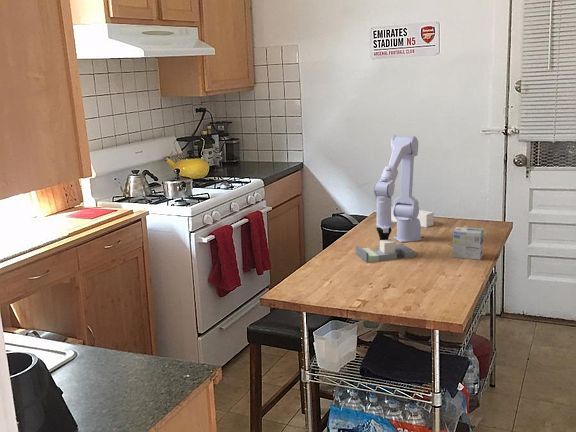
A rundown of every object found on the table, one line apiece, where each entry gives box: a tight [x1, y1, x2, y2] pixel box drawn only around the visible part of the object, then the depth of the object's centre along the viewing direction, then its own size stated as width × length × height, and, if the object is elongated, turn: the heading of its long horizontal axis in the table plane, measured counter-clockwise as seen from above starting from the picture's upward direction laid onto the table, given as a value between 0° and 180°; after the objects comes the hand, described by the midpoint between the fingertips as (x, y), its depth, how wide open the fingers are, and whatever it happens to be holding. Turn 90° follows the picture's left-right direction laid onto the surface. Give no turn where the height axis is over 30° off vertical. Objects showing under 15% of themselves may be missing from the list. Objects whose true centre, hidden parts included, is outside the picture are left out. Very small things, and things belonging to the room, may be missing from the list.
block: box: [379, 238, 396, 253], centre depth 257 cm, size 4×4×4 cm
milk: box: [391, 206, 435, 228], centre depth 306 cm, size 6×6×22 cm
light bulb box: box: [451, 226, 484, 261], centre depth 254 cm, size 11×7×11 cm, turn 65°
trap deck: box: [355, 243, 416, 263], centre depth 259 cm, size 20×11×4 cm, turn 105°
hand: (383, 245), depth 261 cm, fingers closed
